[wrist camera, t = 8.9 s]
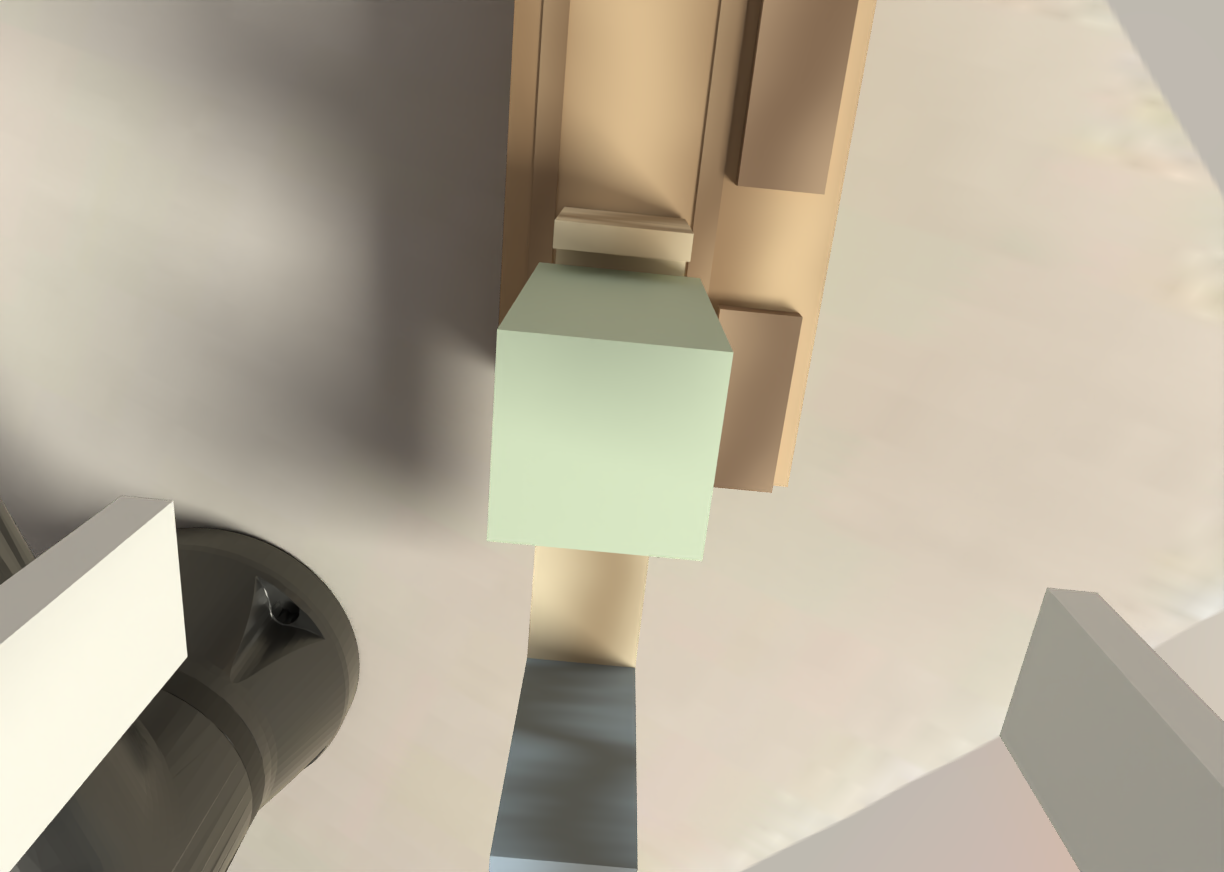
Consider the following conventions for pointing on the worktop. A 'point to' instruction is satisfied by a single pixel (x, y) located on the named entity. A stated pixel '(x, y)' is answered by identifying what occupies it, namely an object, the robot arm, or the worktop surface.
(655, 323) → the block
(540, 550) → the beige piece
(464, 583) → the worktop surface
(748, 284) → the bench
